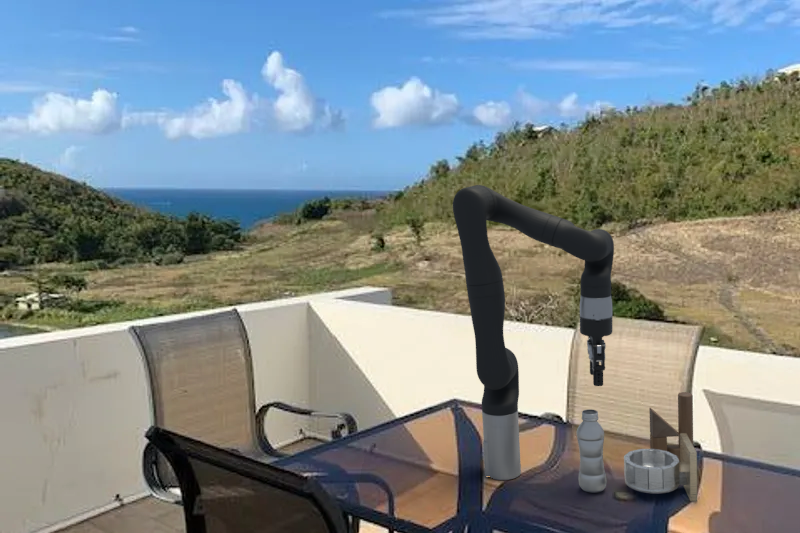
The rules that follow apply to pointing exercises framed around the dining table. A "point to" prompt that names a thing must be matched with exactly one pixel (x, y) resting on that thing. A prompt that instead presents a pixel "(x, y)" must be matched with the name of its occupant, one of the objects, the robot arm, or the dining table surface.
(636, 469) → the ring
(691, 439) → the wooden wedge with rod
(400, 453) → the dining table surface
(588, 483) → the plastic bottle
